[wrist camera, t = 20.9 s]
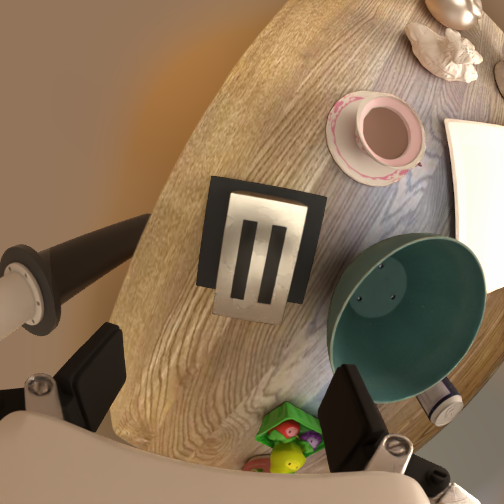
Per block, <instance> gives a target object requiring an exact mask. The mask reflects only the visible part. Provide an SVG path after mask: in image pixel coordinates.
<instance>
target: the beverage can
mask: <svg viewBox="0 0 504 504" xmlns="http://www.w3.org/2000/svg"><path fill="white" fill-rule="evenodd" d="M416 398H417V399H418V401H419V403H420V404H421V406H422V408H423V410H424V411H425V413H426V415H427V416H428V418H429V420H430V421H431V422H432V423H435V425H436V426H443V425H445V424H447V423H449V422H450V421H452V420H453V419H454V418H455V417H456V416H457V415H458V414H459V413H460V411H461V410H462V408H463V402H462V397H461V395H460V394H459V392H458V391H457V390H456V388H455V387H454V386H453V384H452V383H451V382H450V380H449V379H448V378H447V377H445V378H444V379H442V380H441V381H440V382H438V383H437V384H436V385H434V386H433V387H431V388H430V389H428V390H426V391H425V392H423V393H421V394H419V395H416Z"/></svg>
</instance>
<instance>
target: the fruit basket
mask: <svg viewBox="0 0 504 504" xmlns="http://www.w3.org/2000/svg"><path fill="white" fill-rule="evenodd" d="M255 440H256V441H258V442H260V443H262V444H265V445H267V446H269V447H271V448H273V450H272V452H271V455H270V462H271V467H270V472H271V473H283V474H295V471H297V470H298V469H300V468H301V467H302V466H303V465H304V463H305V461H306V457H308V456H310V455H312V454H314V453H316V452H318V451H320V450H322V449H323V448H325V445H324V440H323V436H322V431H321V426H320V422H319V419H317V418H314V417H313V416H312V415H310V414H308V413H305V412H304V411H303V410H301V409H299V408H297V407H294V406H293V405H292V404H290V403H289V402H285V403H284V404H283V405H281V406H279V407H277V408H276V409H274V410H273V411H271V412H270V414H267V415H265V417H264V419H263V422H262V424H261V427H260V429H259V432H258V433H257V435H256V437H255Z"/></svg>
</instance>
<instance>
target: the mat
mask: <svg viewBox="0 0 504 504" xmlns="http://www.w3.org/2000/svg"><path fill="white" fill-rule="evenodd" d="M239 189H240V190H246V191H252V192H257V193H263V194H268V195H273V196H279V197H284V198H289V199H294V200H297V201H299V202H301V203H302V204H304V205H306V206H308V211H307V216H306V221H305V225H304V230H303V235H302V239H301V244H300V248H299V253H298V257H297V262H296V266H295V270H294V275H293V279H292V283H291V287H290V292H289V296H288V300H287V302H292V303H298V304H302V303H303V299H304V295H305V292H306V288H307V284H308V280H309V276H310V272H311V268H312V264H313V260H314V256H315V251H316V247H317V243H318V238H319V234H320V229H321V225H322V220H323V216H324V211H325V206H326V201H327V197H324V196H319V195H315V194H310V193H306V192H301V191H296V190H291V189H286V188H281V187H276V186H270V185H265V184H260V183H254V182H248V181H242V180H236V179H230V178H224V177H217V176H211V181H210V187H209V194H208V200H207V206H206V213H205V220H204V227H203V234H202V241H201V249H200V257H199V265H198V273H197V282H196V285H197V286H202V287H207V288H212V289H216V282H217V275H218V268H219V262H220V255H221V248H222V242H223V235H224V229H225V223H226V217H227V210H228V204H229V198H230V193H231V192H233V191H236V190H239Z"/></svg>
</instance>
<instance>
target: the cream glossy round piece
mask: <svg viewBox="0 0 504 504" xmlns="http://www.w3.org/2000/svg"><path fill="white" fill-rule="evenodd" d="M425 3H426V6H427V8H428V10H429V12H430V13H431V14H432V16H433V17H434V18H435V19H436V20H437V21H439V22H440V23H441V24H443V25H444V26H446V27H448V28H451V29H455V30H467V29H469V28H471V27H475V26H477V24H478V19H481V18H482V3H481V0H425Z"/></svg>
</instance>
